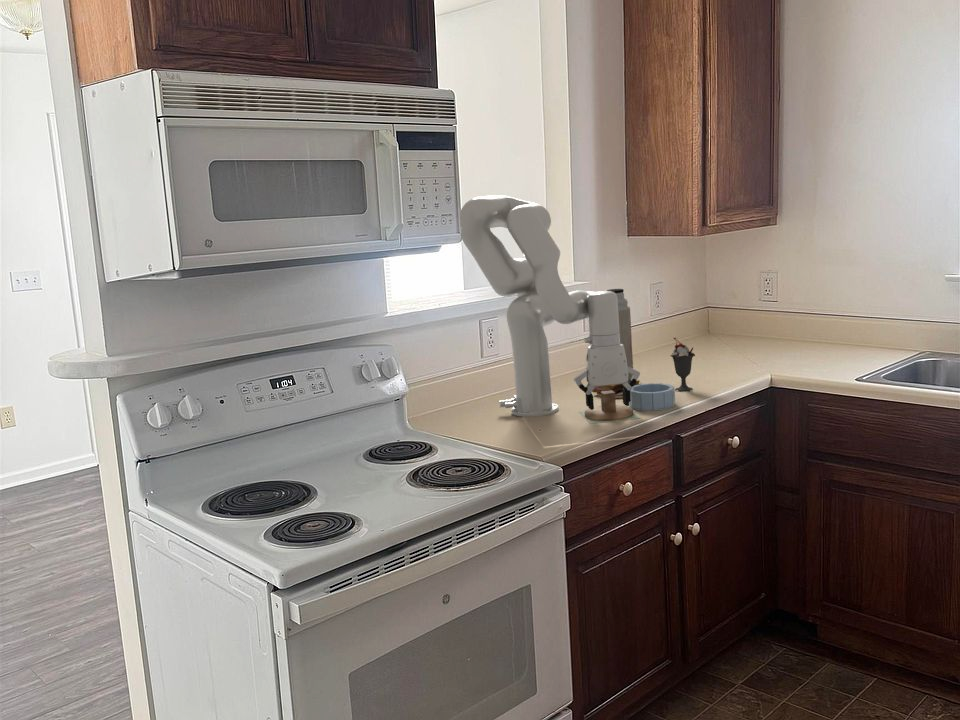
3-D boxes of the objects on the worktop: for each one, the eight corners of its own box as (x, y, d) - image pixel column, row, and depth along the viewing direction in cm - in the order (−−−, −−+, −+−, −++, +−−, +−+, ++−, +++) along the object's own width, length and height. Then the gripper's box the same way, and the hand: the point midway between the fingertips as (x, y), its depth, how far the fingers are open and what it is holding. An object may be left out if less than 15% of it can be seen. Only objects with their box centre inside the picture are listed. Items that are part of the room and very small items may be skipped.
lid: (591, 423, 220) (589, 399, 219) (579, 412, 232) (578, 389, 231) (639, 417, 221) (638, 394, 220) (625, 406, 233) (624, 384, 232)
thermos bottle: (634, 378, 269) (629, 286, 264) (633, 383, 262) (628, 289, 257) (607, 379, 271) (602, 288, 266) (606, 384, 263) (601, 291, 258)
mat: (590, 425, 220) (590, 423, 220) (578, 413, 233) (578, 411, 232) (641, 419, 221) (641, 417, 221) (626, 408, 234) (626, 406, 234)
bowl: (637, 413, 227) (636, 395, 226) (624, 404, 238) (623, 386, 237) (680, 409, 228) (679, 390, 227) (666, 399, 239) (665, 381, 238)
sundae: (667, 389, 251) (664, 337, 249) (687, 385, 253) (685, 334, 251) (679, 393, 245) (677, 340, 242) (700, 389, 247) (698, 337, 244)
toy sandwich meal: (621, 403, 241) (620, 386, 240) (585, 397, 251) (584, 381, 250) (651, 394, 248) (650, 377, 248) (614, 388, 259) (613, 373, 258)
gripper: (574, 346, 219) (578, 413, 222) (642, 339, 221) (645, 406, 224) (567, 341, 226) (572, 407, 229) (633, 334, 228) (637, 400, 231)
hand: (608, 406), depth 226 cm, fingers open, 8 cm apart
